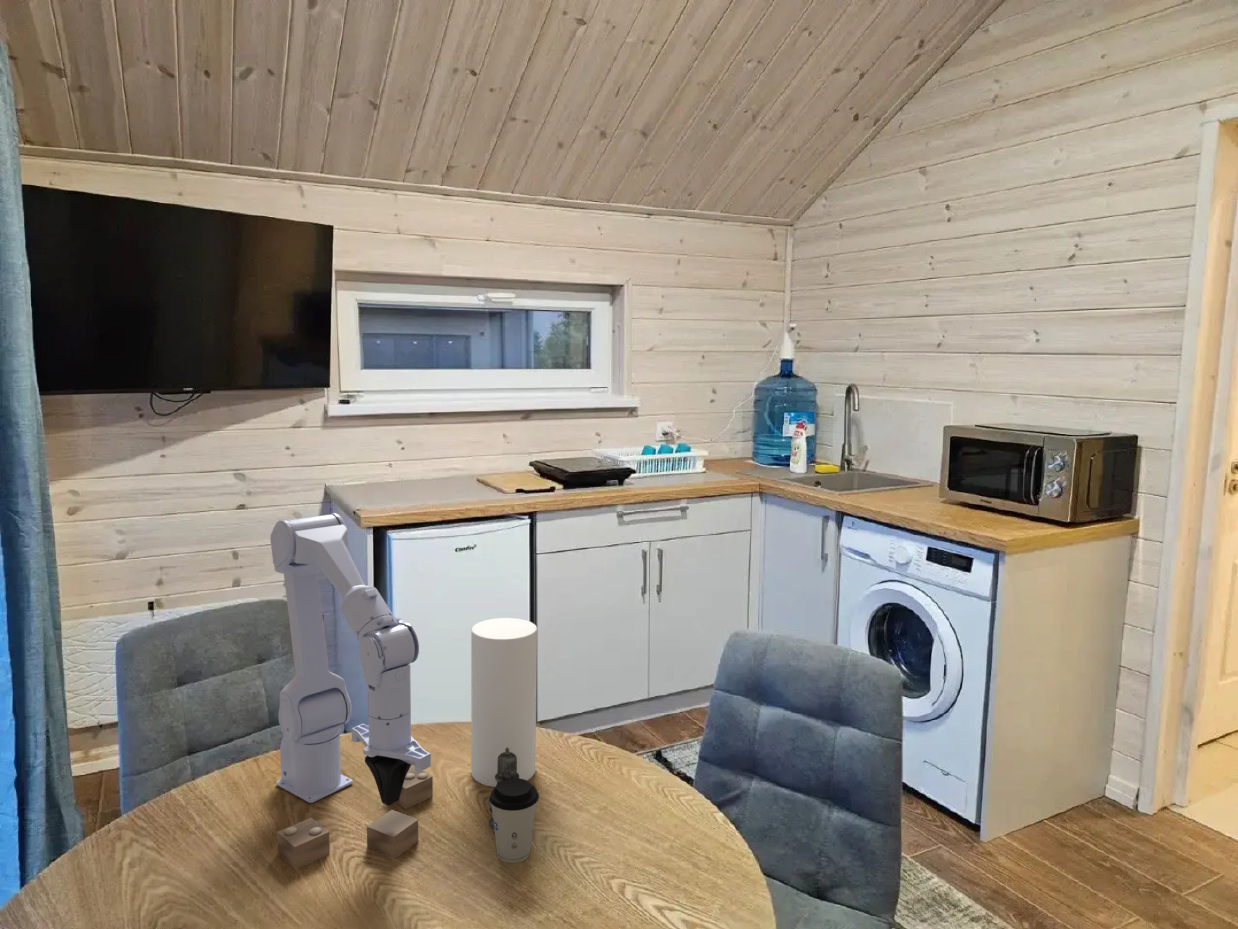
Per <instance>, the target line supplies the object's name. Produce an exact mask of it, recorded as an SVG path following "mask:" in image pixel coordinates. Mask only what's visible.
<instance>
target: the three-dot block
mask: <svg viewBox="0 0 1238 929" xmlns="http://www.w3.org/2000/svg"><path fill="white" fill-rule="evenodd" d="M433 778H434V777H433V776H432V775H431V774H429V773H427V772H425V770H423V771H421V772H419V771H417V770H415V766H413V765H411V767H410V768H409V770H408V772H407V775H406V777H405V780H404V783H403V786H402V790H401V794H400V798H399V801H397V802H395V803H396V804H398V805H399V806H401V807H403V809H406V810H407V809H409V808H411V807H413V806H415V805H417V804H419V803H421V802H424V801H425V800H428V799H430V798H432V797H434V792H433V786H434V785H433V784H434V782H433V781H434V780H433Z"/></svg>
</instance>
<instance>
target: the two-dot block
mask: <svg viewBox="0 0 1238 929" xmlns="http://www.w3.org/2000/svg"><path fill="white" fill-rule="evenodd" d="M276 833H277V835H276V836H277V854H278V856H280V857H281V859H282V860H284V861H285V862H286V863H287V864H288V865H290V867H292V868H293V869H294V871H295V870H299V869H300V868H302V867H304V866H307V865H309V864H310V863H313V862H315V861H317V860H320V859H321V858H323V857H326V856H328V855H330V831H328V830H327V828H325V827H323V826H322V825H321V824H320V823H318V822H317V821H316V820H315V819H313V818H312V817H310V818H307V819H305V820H303V821H300V822H298V823H295V824H293V825H291V826H288V827H285V828H283V829H281V830H279V831H277V832H276Z"/></svg>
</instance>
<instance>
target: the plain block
mask: <svg viewBox="0 0 1238 929" xmlns="http://www.w3.org/2000/svg"><path fill="white" fill-rule="evenodd" d="M418 842H419V819H418V818H415V817H412V816H410V815H407V814H404V813H402V812H400V811H396V810H394V809H391V810H390V811H388V812H386V813H385V814H383V815H382V816H380V817H378V818H377V819H376V820H374V821H373V822H371V823H369V824H368V825H367V826H366V847H367V849H368V850H370V851H373V852H375V853H378V854H381V855H383V856H385V857H388V858H390V859H391V860H394V859H397V857H399V856H400V855H401V854H403V853H404V852H406V851H407V850H408V849H410V848H411V847H412V846H414V845H415V844H416V843H418Z"/></svg>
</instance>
